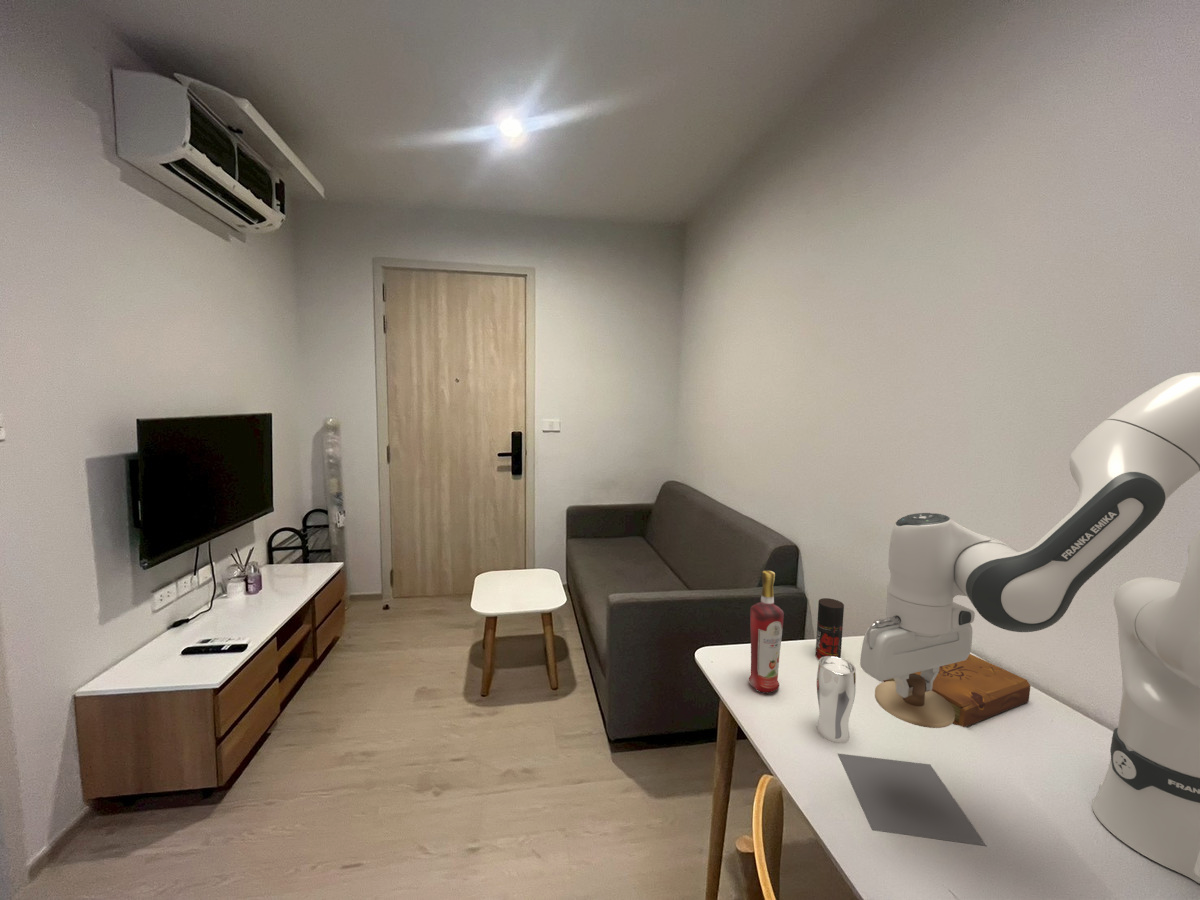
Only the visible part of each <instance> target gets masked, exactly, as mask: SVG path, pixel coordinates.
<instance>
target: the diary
mask: <svg viewBox="0 0 1200 900" xmlns="http://www.w3.org/2000/svg"><path fill="white" fill-rule="evenodd" d="M914 674H918V675H920V674H921V671H920V672H916V673H914ZM887 681H895V680H894V678H892V679H888V680H884V681H882V683H883V682H887ZM932 691H933V692H935V693H937V694H939V695H940V696H942V697H943V698H944V699H946V700H947V701H948V702H949V703H950V704H951V705H952V707H953V709H954V711H955V719H954V722H953V723H952V724H953V725H954V726H961V727H962V728H967V727H968V726H972V725H974V724H975V723H978V722H980V721H983V720H986V719H989V718H990V717H993V716H996V715H999V714H1001V713H1003V712H1006V711H1008V710H1010V709H1014V708H1016V707H1018V706H1020V705H1023V704H1025V703H1028V702H1030V693H1031V684H1030V682H1029V681H1028V680H1027V679H1026V678H1024V677H1022V676H1019V675H1017V674H1015V673H1012V672H1011V671H1008V670H1006V669H1004V668H1001V666H997V665H996V664H993V663H992V662H988V661H986V660H985V659H982V658H980V657H979V656H976V655H974V654H972V653H970V654H969V656H968V658H967V659H966V660H964V661H960V662H956V663H952V664H948V665H944V666H940V667H939V672H938V674H937V676H936V678H935V679H934V681H933V687H932Z"/></svg>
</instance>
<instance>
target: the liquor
mask: <svg viewBox="0 0 1200 900" xmlns="http://www.w3.org/2000/svg"><path fill="white" fill-rule="evenodd" d="M761 573H762V576H761V580H762V589H761V595H760V596H761V597H760V602H756V603H754V604H753V605H751V606H750V609H749V610H750V614H749V615H750V619H749V621H750V624H749V625H750V629H749V630H750V675H749V677H748V682H749V684H750V685H751V686H752V688H754V689H755V690H756V691H757V690H758V691H757V692H759V691H760V693H762V692H764V693H763V694H771V693H772V692H774V691H776V690H778V689H779V688H780V682H779V679H778V677H779V666H780V655H781V646H782V636H783V626H784V617H785V615H784V614H785V612H784V610H783V609H781V608H780V606H778V605H776V604H775V596H774V585H775V584H774V583H775V581H776V580H775V579H776V578H775V577H776V573H775V572H774V571H772V570H763V571H762V572H761ZM770 692H771V693H770Z"/></svg>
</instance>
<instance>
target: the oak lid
mask: <svg viewBox="0 0 1200 900" xmlns="http://www.w3.org/2000/svg"><path fill="white" fill-rule="evenodd" d="M906 681H907V683H908V684H909V685H910V686H912V687H913V691H912V693H913V694H912V696H909V697H906V698H903V697H902V696H900V695H899V694H898V693H897V692H896V682H895V681H887V682H883V681H882V682H880V683H878V684H877V686H876V687H875V688H874V698H875V701H876V702H877V703H878V705H879V706H880V707H881V708H882V709H883V710H884V711H886V712H887V713H888V714H889V715H891V716H893V717H894V718H897V719H898V720H900V721H903V722H906V723H908V724H911V725H914V726H918V727H922V728H929V729H942V728H947V727H949V726H951V725H952V724H953V722H954V719H955V711H954V709H953V707H952V705H951V704H950V703H949V702H948V701H947V700H946V699H944V698H943V697H942V696H940V695H939V694H937V693H935V692H933V691H928V692H925V682H926V680H925V679H924V678H923V677H922V676H920V675H918V674H914V673H912V674H909V679H906Z"/></svg>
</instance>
